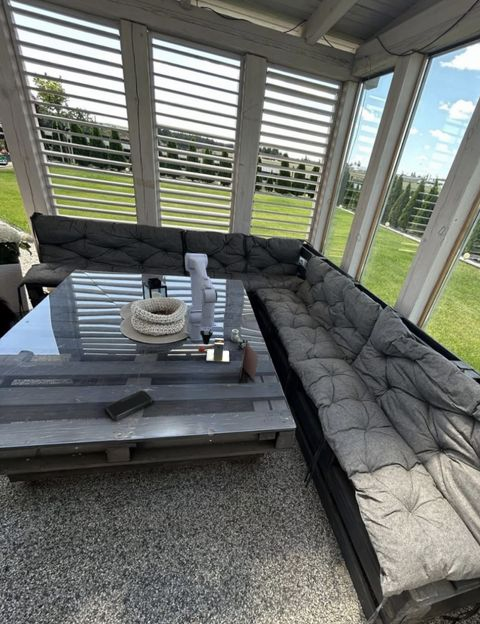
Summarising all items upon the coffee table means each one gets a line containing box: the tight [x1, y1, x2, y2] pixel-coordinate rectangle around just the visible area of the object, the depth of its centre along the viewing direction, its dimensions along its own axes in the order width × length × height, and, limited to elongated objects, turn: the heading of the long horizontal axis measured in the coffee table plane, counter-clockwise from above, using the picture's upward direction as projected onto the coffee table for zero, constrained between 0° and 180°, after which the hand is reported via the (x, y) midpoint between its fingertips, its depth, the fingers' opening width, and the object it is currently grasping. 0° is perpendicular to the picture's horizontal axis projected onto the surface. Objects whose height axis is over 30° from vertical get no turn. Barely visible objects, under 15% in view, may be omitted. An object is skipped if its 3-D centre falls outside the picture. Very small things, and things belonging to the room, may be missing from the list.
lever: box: [198, 340, 222, 354], centre depth 141 cm, size 12×3×3 cm, turn 97°
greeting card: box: [239, 342, 260, 381], centre depth 132 cm, size 11×7×15 cm, turn 178°
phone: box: [104, 390, 153, 421], centre depth 110 cm, size 8×1×15 cm
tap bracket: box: [206, 337, 230, 363], centre depth 142 cm, size 11×9×10 cm
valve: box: [230, 328, 250, 351], centre depth 155 cm, size 7×7×12 cm
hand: (206, 339), depth 137 cm, fingers open, 7 cm apart
